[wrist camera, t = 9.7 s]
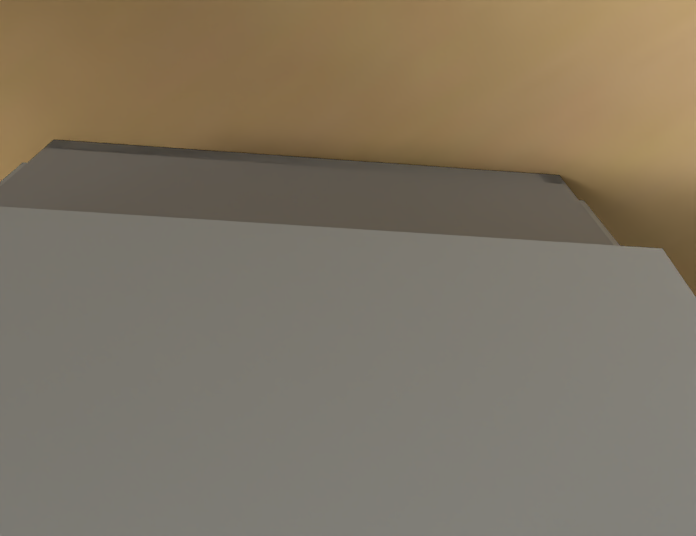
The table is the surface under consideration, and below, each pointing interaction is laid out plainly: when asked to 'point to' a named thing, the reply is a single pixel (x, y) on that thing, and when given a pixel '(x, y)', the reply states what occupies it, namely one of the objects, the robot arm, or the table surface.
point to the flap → (338, 382)
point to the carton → (301, 192)
